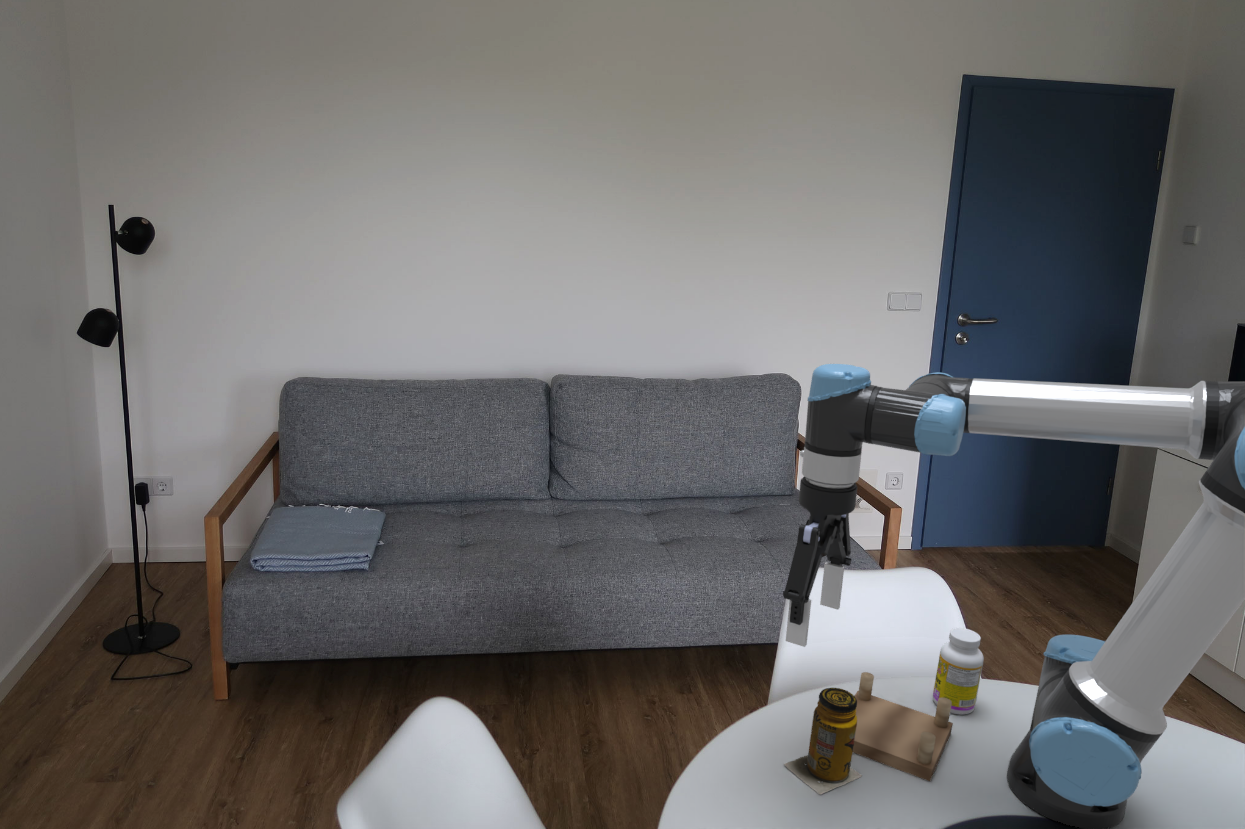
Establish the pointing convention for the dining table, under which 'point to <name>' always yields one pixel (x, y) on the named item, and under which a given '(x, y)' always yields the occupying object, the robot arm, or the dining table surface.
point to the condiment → (829, 743)
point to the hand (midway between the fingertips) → (813, 624)
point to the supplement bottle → (959, 671)
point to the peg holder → (900, 732)
